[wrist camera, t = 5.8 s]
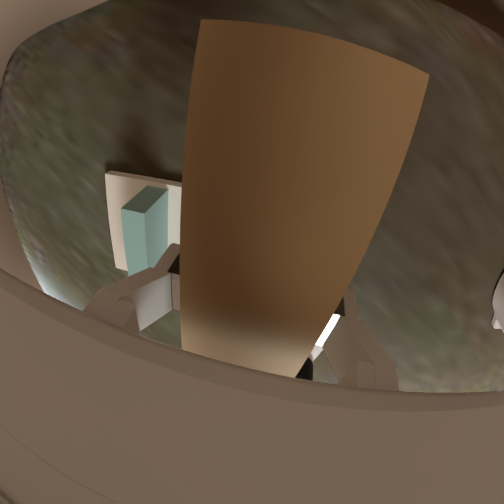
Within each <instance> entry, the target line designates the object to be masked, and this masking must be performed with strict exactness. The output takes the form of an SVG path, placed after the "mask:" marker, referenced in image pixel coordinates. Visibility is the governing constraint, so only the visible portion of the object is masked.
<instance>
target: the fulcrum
mask: <svg viewBox="0 0 504 504" xmlns="http://www.w3.org/2000/svg"><path fill="white" fill-rule="evenodd" d="M105 182H106V195H107V206H108V216H109V224H110V232H111V239H112V246H113V253H114V259H115V265H116V268H119V269H122V270H126V271H128V276H131V275H133V274H135V273H138V272H140V271H142V270H145V269H147V268H149V267H151V268H154V266H155V265H156V264H157V262H158V261H159V259H160V258H161V256H162V255H163V254H164V252H165V251H166V249H167V248H168V247H169V245H170V244H172V243H175V244H179V245H180V213H181V190H182V183H181V182H176V181H171V180H165V179H159V178H154V177H148V176H142V175H136V174H130V173H124V172H117V171H109V172H107V173H106V174H105Z"/></svg>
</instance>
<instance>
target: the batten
mask: <svg viewBox="0 0 504 504" xmlns="http://www.w3.org/2000/svg"><path fill="white" fill-rule="evenodd" d="M428 79H429V74H427V73H425V72H423V71H421V70H419V69H417V68H415V67H412V66H410V65H408V64H406V63H403V62H401V61H399V60H396V59H394V58H392V57H389V56H387V55H384V54H381V53H379V52H376V51H373V50H371V49H368V48H365V47H362V46H359V45H356V44H353V43H350V42H346V41H343V40H339V39H336V38H332V37H329V36H325V35H321V34H317V33H312V32H308V31H303V30H298V29H293V28H288V27H282V26H276V25H269V24H262V23H254V22H244V21H232V20H213V19H201V24H200V29H199V35H198V41H197V47H196V53H195V59H194V66H193V73H192V80H191V88H190V96H189V104H188V113H187V123H186V134H185V145H184V158H183V172H182V190H181V213H180V317H181V340H182V350H185V351H189V352H192V353H195V354H198V355H202V356H205V357H209V358H212V359H216V360H219V361H223V362H227V363H231V364H234V365H238V366H242V367H246V368H251V369H255V370H259V371H263V372H268V373H273V374H277V375H282V376H287V377H292V378H295V377H296V375H297V374H298V372H299V370H300V369H301V367H302V366H303V364H304V363H305V361H306V359H307V358H308V356H309V355H310V353H311V351H312V350H313V348H314V346H315V345H316V343H317V341H318V340H319V338H320V336H321V335H322V333H323V331H324V330H325V328H326V326H327V324H328V323H329V321H330V319H331V317H332V316H333V314H334V312H335V310H336V308H337V307H338V305H339V303H340V301H341V299H342V297H343V295H344V294H345V292H346V290H347V288H348V286H349V284H350V282H351V280H352V278H353V276H354V274H355V272H356V270H357V268H358V266H359V264H360V262H361V260H362V258H363V256H364V254H365V252H366V250H367V248H368V246H369V243H370V241H371V239H372V237H373V235H374V232H375V230H376V228H377V226H378V224H379V221H380V219H381V217H382V214H383V212H384V210H385V207H386V205H387V202H388V200H389V198H390V195H391V193H392V190H393V188H394V185H395V182H396V180H397V177H398V175H399V172H400V169H401V167H402V164H403V161H404V158H405V155H406V153H407V150H408V147H409V144H410V141H411V138H412V135H413V132H414V129H415V125H416V122H417V119H418V116H419V112H420V109H421V105H422V102H423V98H424V95H425V91H426V87H427V83H428Z"/></svg>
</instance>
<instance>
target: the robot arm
mask: <svg viewBox="0 0 504 504" xmlns="http://www.w3.org/2000/svg"><path fill="white" fill-rule="evenodd" d="M172 308H173V309H177V310H180V245H179V244H175V243H172V244H170V245H169V247H168V248H167V249H166V251H165V252H164V254H163V255H162V256H161V258H160V259H159V261H158V262H157V264H156V265H155V266H154V268H151V267H149V268H147V269H145V270H142V271H140V272H138V273H135V274H133V275H131V276H128V277H126V278H124V279H121V280H119V281H117V282H115V283H112V284H110V285H108V286H106V287H103V288H101V289H99V290H98V291H97V293H96V294H95V295H94V297H93V298H92V299H91V301H90V302H89V303H88V305H87V306H86V308H85V309H84V310H83V311H81V310H78V309H76V308H74V307H72V306H70V305H68V304H66V303H64V302H61V301H59V300H57V299H55V298H53V297H51V296H49V295H47V294H46V293H44V292H42V291H40V290H38V289H36V288H34V287H32V286H30V285H29V284H27V283H25V282H23V281H21V280H20V279H18V278H16V277H14V276H13V275H11V274H9V273H7V272H6V271H4V270H3V269H1V268H0V504H504V391H489V392H469V393H424V392H402V391H399V388H398V379H397V371H396V364H395V363H394V362H393V360H392V359H391V358H390V356H389V355H388V354H387V352H386V351H385V350H384V348H383V347H382V346H381V344H380V343H379V342H378V340H377V339H376V338H375V336H374V335H373V334H372V333H371V331H370V330H369V329H368V327H367V326H366V325H365V324H364V322H363V321H362V320H359V319H358V310H357V302H356V295H355V289H354V288H352V287H348V288H347V290H346V292H345V294H344V295H343V297H342V299H341V301H340V303H339V305H338V307H337V308H336V310H335V312H334V314H333V316H332V317H331V319H330V321H329V323H328V324H327V326H326V328H325V330H324V331H323V333H322V335H321V336H320V338H319V340H318V341H317V343H316V345H320V346H322V348H323V350H324V352H325V354H326V356H327V358H328V360H329V362H330V364H331V366H332V368H333V370H334V372H335V373H336V375H337V377H338V379H339V381H340V382H339V383H338V384H337V385H335V384H328V383H321V382H315V381H309V380H303V379H298V378H292V377H287V376H282V375H277V374H273V373H268V372H263V371H259V370H255V369H251V368H246V367H242V366H238V365H234V364H231V363H227V362H223V361H219V360H216V359H212V358H209V357H205V356H202V355H198V354H195V353H192V352H189V351H185V350H182V349H179V348H176V347H173V346H170V345H167V344H164V343H161V342H158V341H155V340H152V339H150V338H147V337H144V336H141V332H140V331H141V330H142V329H144V328H145V327H147V326H148V325H150V324H151V323H153V322H154V321H156V320H157V319H159V318H160V317H162V316H163V315H165V314H166V313H168V312H169V311H171V310H172ZM493 309H494V316H493V319H492V325H493V327H494V328H495V329H500V328H501V329H502V331H503V333H504V273H503V275H502V277H501V278H500V280H499V282H498V284H497V287H496V289H495V292H494V296H493Z"/></svg>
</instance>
